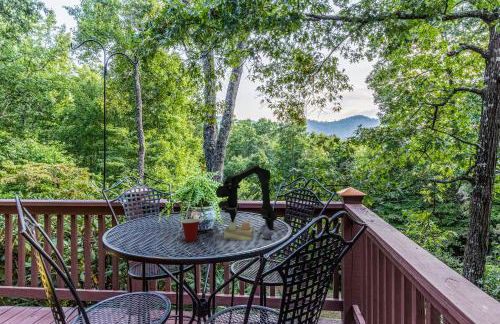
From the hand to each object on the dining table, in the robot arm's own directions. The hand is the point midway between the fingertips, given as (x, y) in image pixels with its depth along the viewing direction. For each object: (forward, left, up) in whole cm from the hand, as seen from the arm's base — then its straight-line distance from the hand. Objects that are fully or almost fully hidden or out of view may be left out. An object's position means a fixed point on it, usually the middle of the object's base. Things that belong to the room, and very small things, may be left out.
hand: (232, 221), depth 187 cm
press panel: (0, +4, -9) cm, 10 cm away
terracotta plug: (0, +8, -5) cm, 9 cm away
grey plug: (0, 0, -5) cm, 5 cm away
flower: (+1, +20, -9) cm, 22 cm away
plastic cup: (+10, -23, -9) cm, 27 cm away
